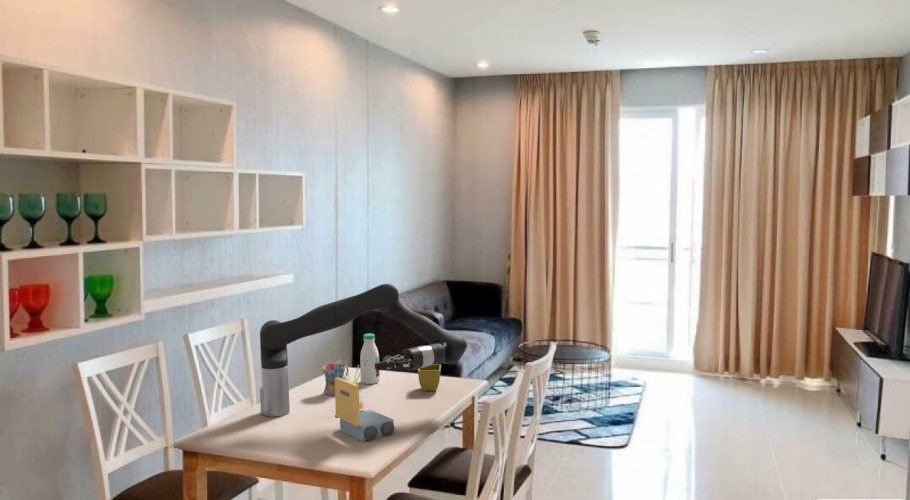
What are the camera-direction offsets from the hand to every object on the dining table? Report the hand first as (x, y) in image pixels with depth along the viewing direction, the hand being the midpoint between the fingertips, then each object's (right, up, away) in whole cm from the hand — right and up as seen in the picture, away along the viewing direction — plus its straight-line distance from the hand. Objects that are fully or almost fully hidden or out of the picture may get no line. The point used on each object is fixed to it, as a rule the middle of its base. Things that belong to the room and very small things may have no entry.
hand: (375, 366), depth 240 cm
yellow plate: (-9, -17, -6) cm, 20 cm away
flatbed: (-3, -21, -1) cm, 21 cm away
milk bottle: (-9, -16, +58) cm, 61 cm away
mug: (-20, -17, +44) cm, 52 cm away
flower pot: (+16, -17, +46) cm, 52 cm away
